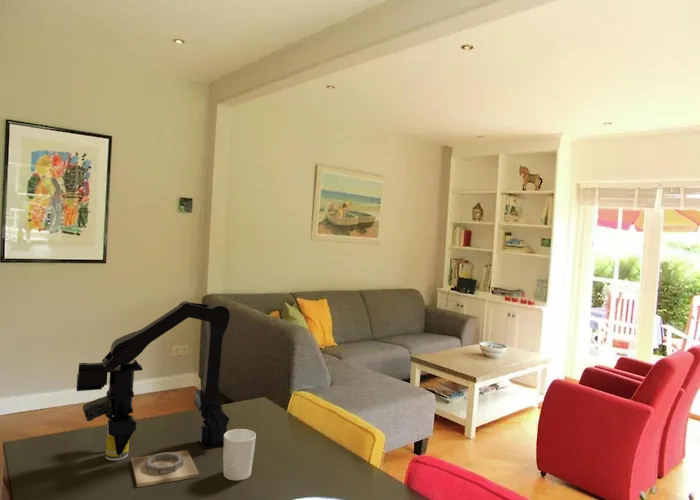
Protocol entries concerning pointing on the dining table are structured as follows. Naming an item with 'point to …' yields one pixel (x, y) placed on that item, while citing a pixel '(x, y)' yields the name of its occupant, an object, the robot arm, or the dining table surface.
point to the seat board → (163, 468)
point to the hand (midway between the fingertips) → (117, 446)
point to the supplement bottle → (114, 449)
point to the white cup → (238, 453)
